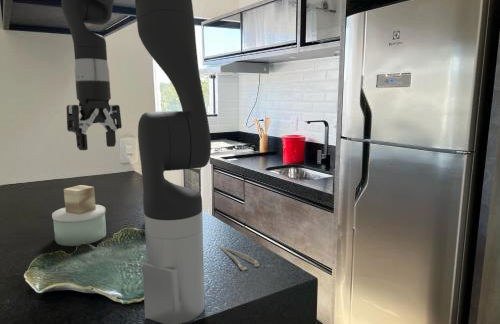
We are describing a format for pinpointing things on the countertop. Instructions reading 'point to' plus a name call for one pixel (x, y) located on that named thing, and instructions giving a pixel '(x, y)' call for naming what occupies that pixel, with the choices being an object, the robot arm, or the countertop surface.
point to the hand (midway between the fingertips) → (97, 148)
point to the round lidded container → (79, 226)
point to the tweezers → (241, 257)
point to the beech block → (79, 199)
